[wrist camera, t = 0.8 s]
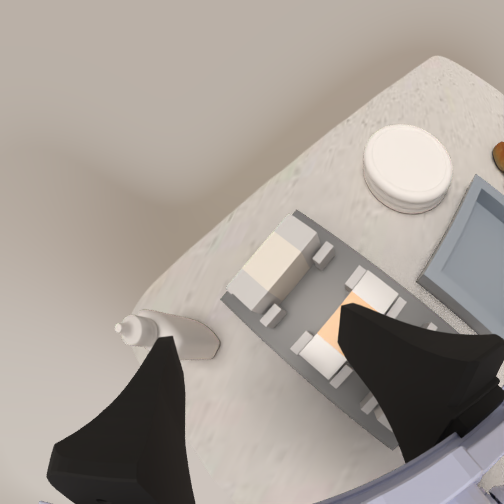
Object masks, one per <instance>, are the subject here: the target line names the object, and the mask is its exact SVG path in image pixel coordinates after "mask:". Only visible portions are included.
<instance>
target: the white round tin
mask: <svg viewBox="0 0 504 504" xmlns="http://www.w3.org/2000/svg"><path fill="white" fill-rule="evenodd" d="M363 158H364V161H363V165H364V166H363V171H364V177H365V180H366V183H367V185H368V187H369V189H370V190H371V192H372V193H373V194H374V196H375V197H376V198H377V199H378V200H379V201H380V202H382V203H383V204H384V205H386V206H388V207H389V208H391V209H393V210H396V211H399V212H402V213H408V214H417V213H423V212H426V211H429V210H430V209H432V208H434V207H435V206H437V205H438V204H439V203H440V202H441V201H442V199H443V197H444V196H445V193H446V192H447V190H448V187H449V186H450V183H451V181H452V176H453V167H452V162H451V158H450V156H449V154H448V152H447V150H446V148H445V147H444V146H443V144H442V143H441V142H440V141H439V140H438V139H437V138H436V137H434V136H433V135H432V134H430V133H429V132H427V131H425V130H423V129H421V128H418V127H415V126H412V125H406V124H395V125H389V126H386V127H383V128H381V129H379V130H378V131H376V132H375V133H374V134H373V135H372V136H371V137H370V138H369V140H368V141H367V143H366V146H365V149H364V155H363Z"/></svg>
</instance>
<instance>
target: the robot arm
mask: <svg viewBox="0 0 504 504" xmlns="http://www.w3.org/2000/svg"><path fill="white" fill-rule="evenodd" d="M337 343H338V345H339V347H340V348H341V350H342V352H343V354H344V356H345V358H346V359H347V361H348V362H349V364H350V365H351V366H352V368H353V369H354V370H355V372H356V373H357V374H358V376H359V377H360V378H361V380H362V381H363V382H364V383H365V385H366V386H367V387H368V389H369V390H370V391H371V393H372V394H373V396H374V397H375V399H376V400H377V402H378V404H379V406H380V407H381V409H382V411H383V413H384V415H385V416H386V418H387V420H388V422H389V424H390V426H391V428H392V431H393V433H394V435H395V437H396V440H397V442H398V444H399V447H400V449H401V452H402V455H403V457H404V460H405V463H406V464H404V465H403V466H401V467H399V468H397V469H395V470H393V471H391V472H389V473H387V474H385V475H383V476H381V477H379V478H377V479H375V480H373V481H371V482H369V483H366V484H364V485H362V486H360V487H357V488H355V489H352V490H350V491H347V492H345V493H342V494H340V495H337V496H334V497H332V498H329V499H326V500H323V501H320V502H317V503H314V504H504V485H501V486H494V487H492V488H491V489H490V490H489V493H490V495H491V496H492V497H491V496H490V495H489V494H487V492H486V491H485V490H484V489H483V488H482V487H480V488H479V487H478V486H477V484H478V483H479V482H480V481H481V479H482V476H483V475H484V474H485V473H486V472H487V471H488V470H489V469H490V468H491V467H492V466H493V465H494V464H495V463H496V462H497V461H498V460H499V459H500V458H501V457H502V456H503V455H504V385H503V387H502V388H501V387H499V386H498V384H499V382H500V380H499V379H498V378H497V377H496V375H497V373H498V371H499V369H500V367H501V365H502V363H503V361H504V339H503V338H501V337H500V336H499V335H497V334H484V335H464V334H452V333H445V332H439V331H434V330H429V329H425V328H421V327H418V326H414V325H411V324H408V323H405V322H402V321H399V320H397V319H394V318H391V317H389V316H386V315H384V314H381V313H379V312H376V311H374V310H372V309H369V308H367V307H364V306H361V305H359V304H356V303H349V304H345V305H341V311H340V322H339V332H338V341H337ZM47 479H48V481H49V482H50V484H51V485H52V486H53V487H55V489H57V490H58V491H59V492H60V493H62V494H63V495H64V496H66V497H67V498H68V499H69V500H71V501H72V502H74V503H75V504H195V499H194V495H193V491H192V485H191V480H190V474H189V468H188V461H187V454H186V446H185V384H184V374H183V370H182V367H181V363H180V360H179V356H178V353H177V349H176V345H175V342H174V338H173V336H166V337H158V339H157V340H156V342H155V343H154V345H153V347H152V348H151V350H150V352H149V354H148V355H147V357H146V359H145V360H144V362H143V363H142V365H141V366H140V368H139V369H138V371H137V373H136V374H135V375H134V377H133V378H132V379H131V381H130V382H129V384H128V385H127V386H126V388H125V389H124V390H123V391H122V392H121V394H120V395H119V396H118V397H117V398H116V399H115V400H114V401H113V402H112V403H111V404H110V405H109V406H108V407H107V408H106V409H105V410H103V411H102V412H101V413H100V414H99V415H98V416H97V417H96V418H95V419H93V420H92V421H91V422H89V423H88V424H87V425H85V426H84V427H82V428H81V429H80V430H78V431H77V432H75V433H73V434H72V435H70V436H68V437H66V438H65V439H63V440H61V441H60V442H58V443H56V444H55V445H54V447H53V451H52V454H51V458H50V462H49V466H48V471H47ZM39 504H51V503H48V502H44V501H39Z"/></svg>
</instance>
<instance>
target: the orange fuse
mask: <svg viewBox="0 0 504 504" xmlns="http://www.w3.org/2000/svg"><path fill="white" fill-rule="evenodd" d="M397 295H398V293H397V292H396V291H395V290H393V289H392V288H391V287H389V286H388V285H387V284H386V283H384V282H383V281H382V280H380V279H379V278H378V277H377V276H375V275H374V274H373V273H371V272H370V271H369V270H367V272H366V273H365V274H364V276H363V277H362V278H361V280H360V281H359V282H358V284H357V285H356V286H355V287H354V289H353V290H352V291H351V293H350V294H349V295H348V296H347V298H346V299H345V300H344V301H343V303H342V304H341V305H345V304H349V303H356V304H359V305H361V306H364V307H367V308H369V309H372V310H374V311H376V312H379V313H381V314H384V313H385V312H386V311H387V309H388V308H389V307H390V305H391V304H392V302H393V301H394V300H395V298H396V297H397ZM341 305H340V306H339V308H338V309H337V310H336V311H335V313H334V314H333V315H332V316H331V317H330V319H329V320H328V321H327V322H326V323H325V324H324V326H323V327H322V328H321V329H320V330H319V332H318V333H317V334H316V335H315V336H314V337H313V338H312V340H311V341H310V342H309V343H308V344H307V345H306V346H305V347H304V349H303V350H302V351H301V352H300V353H299V355H300V356H302V357H303V358H304V359H305V360H306V361H307V362H308V363H310V364H311V365H312V366H313V367H314V368H315V369H316V370H318V371H319V372H320V373H321V374H322V375H323V376H325V377H326V378H327V379H328V380H329V379H330V378H331V377H332V376H333V375H334V374H335V373H336V371H337V370H338V369H339V368H340V367H341V366H342V365H343V364H344V363H345V361H346V360H347V359H346V358H345V356H344V354H343V352H342V350H341V348H340V347H339V345H338V343H337V341H338V332H339V322H340V311H341Z"/></svg>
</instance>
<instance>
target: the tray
mask: <svg viewBox="0 0 504 504" xmlns="http://www.w3.org/2000/svg"><path fill="white" fill-rule="evenodd" d="M416 282H417V283H419V284H420V285H421V286H422V287H424V288H425V289H426V290H427V291H429V292H430V293H431V294H432V295H433V296H435V297H436V298H437V299H438V300H439V301H441V302H442V303H443V304H444V305H445V306H447V307H448V308H449V309H450V310H451V311H453V312H454V313H455V314H456V315H457V316H458V317H459V318H461V319H462V320H463V321H464V322H465V323H466V324H467V325H469V326H470V327H471V328H472V329H473V330H474V331H475V332H476V333H477V334H479V335H484V334H497V335H499V336H500V337H501V338H503V339H504V195H502V194H501V193H500V192H499V191H498V190H496V189H495V188H494V187H492V186H491V185H490V184H489V183H487V182H486V181H485V180H483V179H482V178H481V177H479V176H478V175H477V174H475V176H474V178H473V180H472V182H471V183H470V185H469V187H468V188H467V191H466V193H465V195H464V197H463V199H462V201H461V203H460V205H459V207H458V209H457V211H456V213H455V215H454V217H453V219H452V221H451V223H450V225H449V227H448V229H447V231H446V232H445V234H444V236H443V238H442V240H441V241H440V243H439V245H438V247H437V248H436V250H435V252H434V254H433V255H432V257H431V259H430V260H429V262H428V264H427V265H426V267H425V268H424V270H423V272H422V273H421V275H420V276H419V278H418V279H417V281H416Z"/></svg>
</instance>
